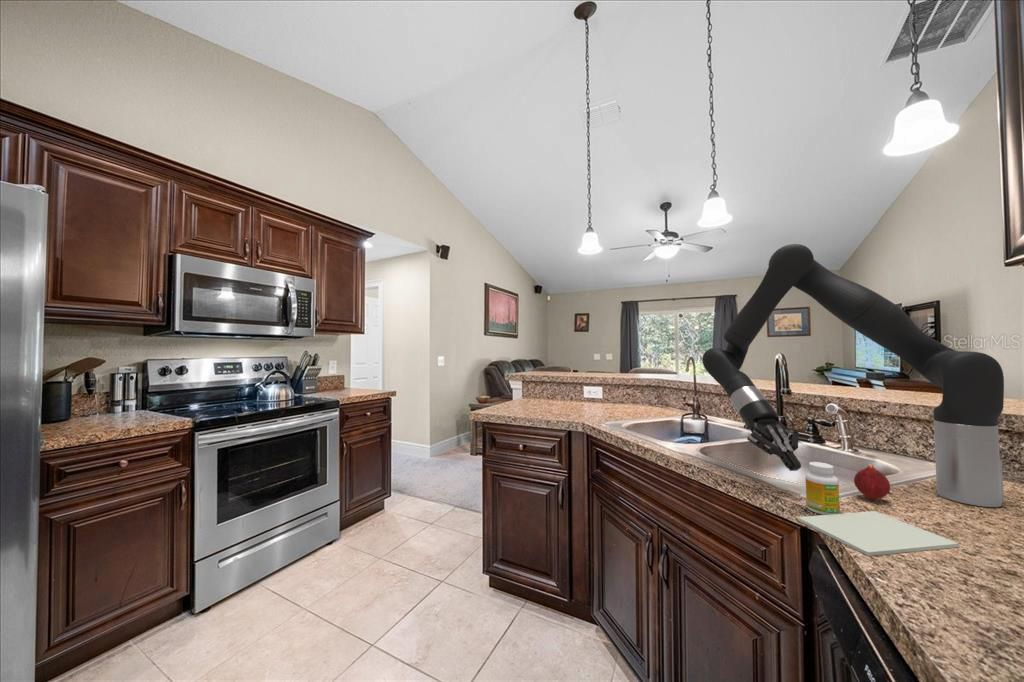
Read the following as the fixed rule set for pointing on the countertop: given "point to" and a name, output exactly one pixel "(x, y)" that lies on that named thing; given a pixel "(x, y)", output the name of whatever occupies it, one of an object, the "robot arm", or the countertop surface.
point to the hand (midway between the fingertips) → (796, 469)
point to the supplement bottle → (822, 489)
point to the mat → (876, 533)
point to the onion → (872, 483)
